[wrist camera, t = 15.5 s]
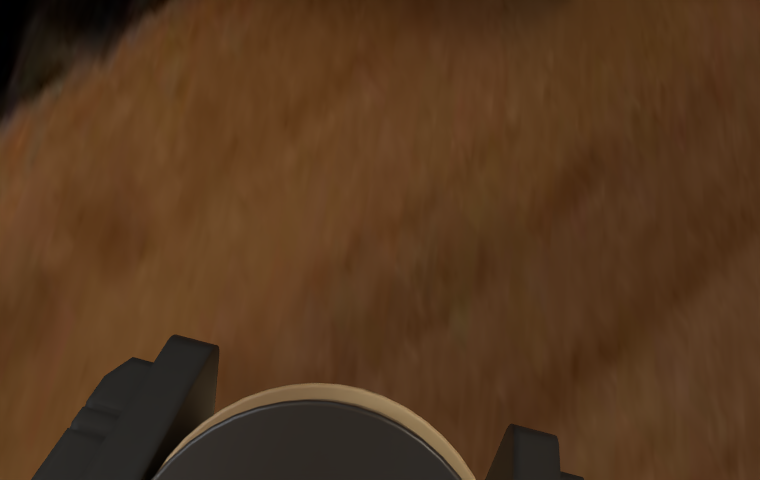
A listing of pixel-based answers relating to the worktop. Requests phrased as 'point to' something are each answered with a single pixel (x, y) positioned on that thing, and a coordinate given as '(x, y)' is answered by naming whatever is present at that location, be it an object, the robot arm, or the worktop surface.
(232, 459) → the beige jar
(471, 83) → the worktop surface
